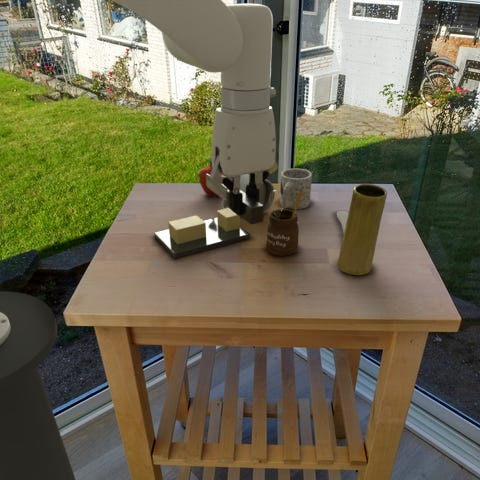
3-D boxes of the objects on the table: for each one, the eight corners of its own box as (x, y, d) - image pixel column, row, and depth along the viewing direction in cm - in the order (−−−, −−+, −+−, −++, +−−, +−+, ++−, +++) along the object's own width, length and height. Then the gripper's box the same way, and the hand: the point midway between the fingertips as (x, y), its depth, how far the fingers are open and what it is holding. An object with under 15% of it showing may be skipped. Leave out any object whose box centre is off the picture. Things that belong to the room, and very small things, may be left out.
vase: (374, 276, 85) (394, 199, 76) (338, 275, 85) (354, 197, 76) (367, 257, 90) (385, 183, 81) (334, 256, 90) (348, 181, 81)
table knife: (212, 185, 98) (212, 170, 96) (263, 222, 85) (263, 205, 83) (201, 187, 97) (201, 172, 95) (251, 225, 84) (251, 208, 82)
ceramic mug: (255, 198, 113) (255, 165, 108) (275, 211, 107) (275, 176, 102) (214, 208, 109) (212, 174, 104) (232, 222, 103) (231, 187, 98)
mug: (286, 195, 114) (288, 166, 110) (313, 200, 112) (316, 171, 108) (269, 211, 107) (269, 181, 103) (297, 216, 105) (299, 186, 101)
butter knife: (350, 210, 106) (336, 210, 106) (363, 267, 87) (346, 266, 87) (349, 212, 106) (336, 212, 106) (362, 269, 87) (345, 269, 87)
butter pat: (226, 232, 97) (226, 217, 95) (217, 224, 100) (216, 210, 98) (240, 228, 98) (239, 214, 96) (230, 221, 101) (230, 207, 99)
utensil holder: (276, 239, 97) (279, 179, 90) (304, 247, 94) (309, 186, 87) (259, 251, 93) (260, 189, 86) (288, 260, 90) (292, 197, 83)
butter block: (177, 244, 93) (176, 229, 91) (169, 236, 96) (168, 221, 94) (206, 237, 95) (205, 222, 94) (197, 229, 98) (196, 215, 96)
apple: (196, 191, 117) (193, 148, 111) (223, 187, 119) (221, 145, 113) (206, 203, 111) (203, 159, 105) (234, 198, 113) (233, 155, 107)
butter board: (174, 258, 91) (174, 253, 90) (154, 237, 98) (154, 232, 97) (250, 238, 97) (250, 233, 96) (226, 219, 104) (226, 215, 103)
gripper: (276, 89, 82) (271, 195, 93) (187, 99, 76) (193, 212, 87) (302, 98, 77) (293, 209, 88) (209, 110, 70) (212, 228, 81)
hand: (244, 210), depth 87 cm, fingers closed on table knife, 2 cm apart
